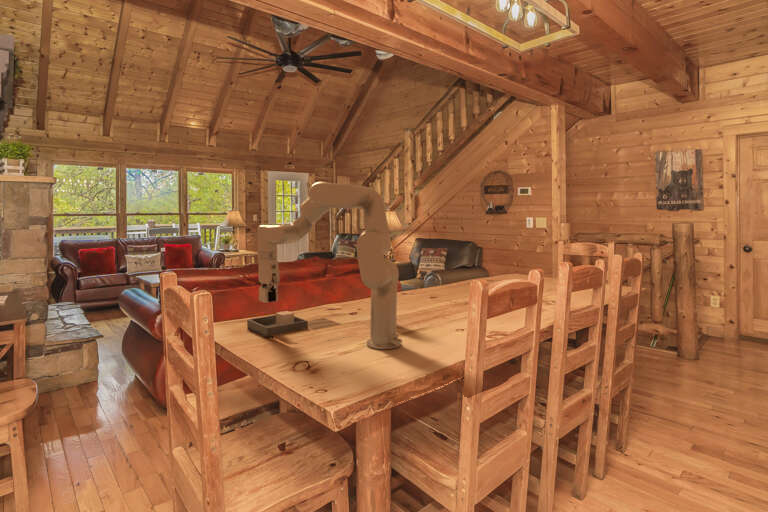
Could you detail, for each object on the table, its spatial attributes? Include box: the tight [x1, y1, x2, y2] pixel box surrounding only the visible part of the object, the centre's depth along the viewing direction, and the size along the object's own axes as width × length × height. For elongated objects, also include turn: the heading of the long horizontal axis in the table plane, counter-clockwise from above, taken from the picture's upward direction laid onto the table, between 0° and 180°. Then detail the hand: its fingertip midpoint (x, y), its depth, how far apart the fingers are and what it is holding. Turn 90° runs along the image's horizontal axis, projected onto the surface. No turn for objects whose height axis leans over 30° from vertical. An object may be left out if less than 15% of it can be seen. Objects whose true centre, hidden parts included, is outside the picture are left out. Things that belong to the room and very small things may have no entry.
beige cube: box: [258, 286, 279, 304], centre depth 182 cm, size 6×6×6 cm
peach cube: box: [275, 310, 295, 326], centre depth 187 cm, size 6×6×6 cm
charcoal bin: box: [246, 314, 309, 339], centre depth 185 cm, size 18×18×4 cm
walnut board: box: [307, 317, 342, 331], centre depth 192 cm, size 14×14×1 cm
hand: (268, 299), depth 182 cm, fingers closed on beige cube, 5 cm apart
